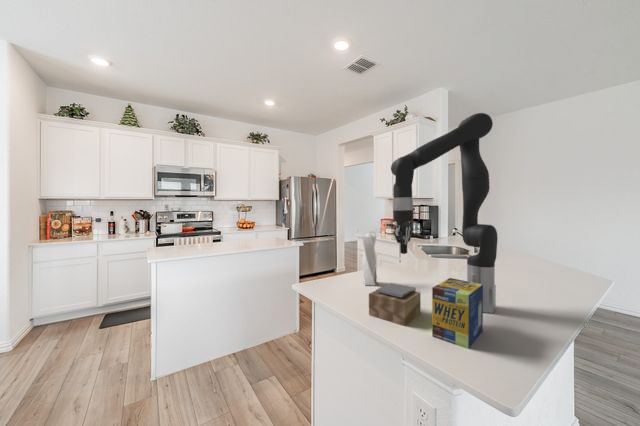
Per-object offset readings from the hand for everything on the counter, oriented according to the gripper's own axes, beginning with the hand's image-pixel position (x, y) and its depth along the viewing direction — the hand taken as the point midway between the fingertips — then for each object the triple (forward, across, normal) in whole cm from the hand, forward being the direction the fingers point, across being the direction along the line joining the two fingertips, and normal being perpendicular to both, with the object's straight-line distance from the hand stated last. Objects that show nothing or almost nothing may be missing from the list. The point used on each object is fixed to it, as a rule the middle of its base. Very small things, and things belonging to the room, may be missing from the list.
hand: (403, 253), depth 102 cm
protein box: (+22, -8, -21) cm, 32 cm away
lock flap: (+14, -5, +1) cm, 15 cm away
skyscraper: (+23, +20, +28) cm, 41 cm away
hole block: (+22, -7, +1) cm, 23 cm away
